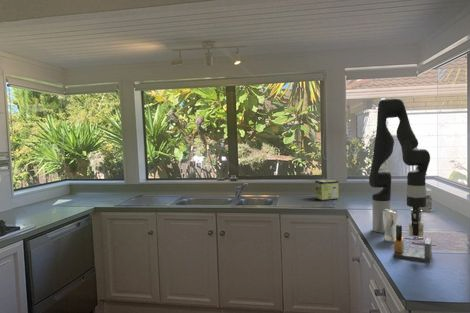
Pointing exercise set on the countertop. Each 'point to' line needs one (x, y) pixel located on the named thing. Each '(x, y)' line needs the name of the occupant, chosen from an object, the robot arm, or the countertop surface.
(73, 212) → the countertop surface
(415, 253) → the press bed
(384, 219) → the beer glass
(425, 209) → the french press
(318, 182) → the protein box
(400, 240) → the press ram
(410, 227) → the block
